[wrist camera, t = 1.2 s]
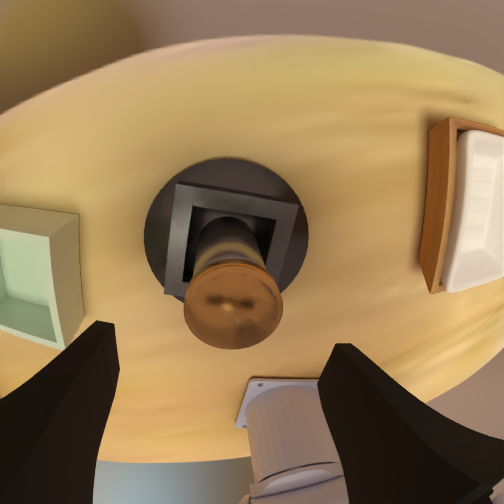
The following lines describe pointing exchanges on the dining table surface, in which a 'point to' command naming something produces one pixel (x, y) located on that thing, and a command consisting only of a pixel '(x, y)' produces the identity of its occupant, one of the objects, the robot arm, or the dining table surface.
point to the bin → (40, 275)
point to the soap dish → (463, 206)
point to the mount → (219, 205)
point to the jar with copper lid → (231, 288)
